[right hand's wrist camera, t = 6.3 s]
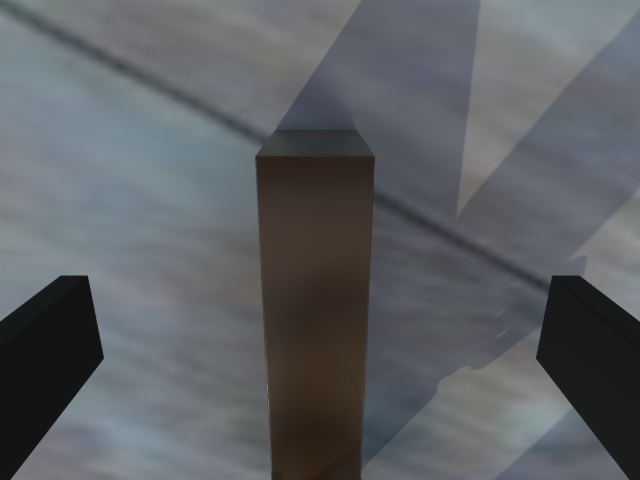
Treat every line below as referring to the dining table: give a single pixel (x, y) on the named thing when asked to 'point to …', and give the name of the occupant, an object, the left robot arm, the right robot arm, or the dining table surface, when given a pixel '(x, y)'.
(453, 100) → the dining table surface
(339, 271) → the walnut plank
